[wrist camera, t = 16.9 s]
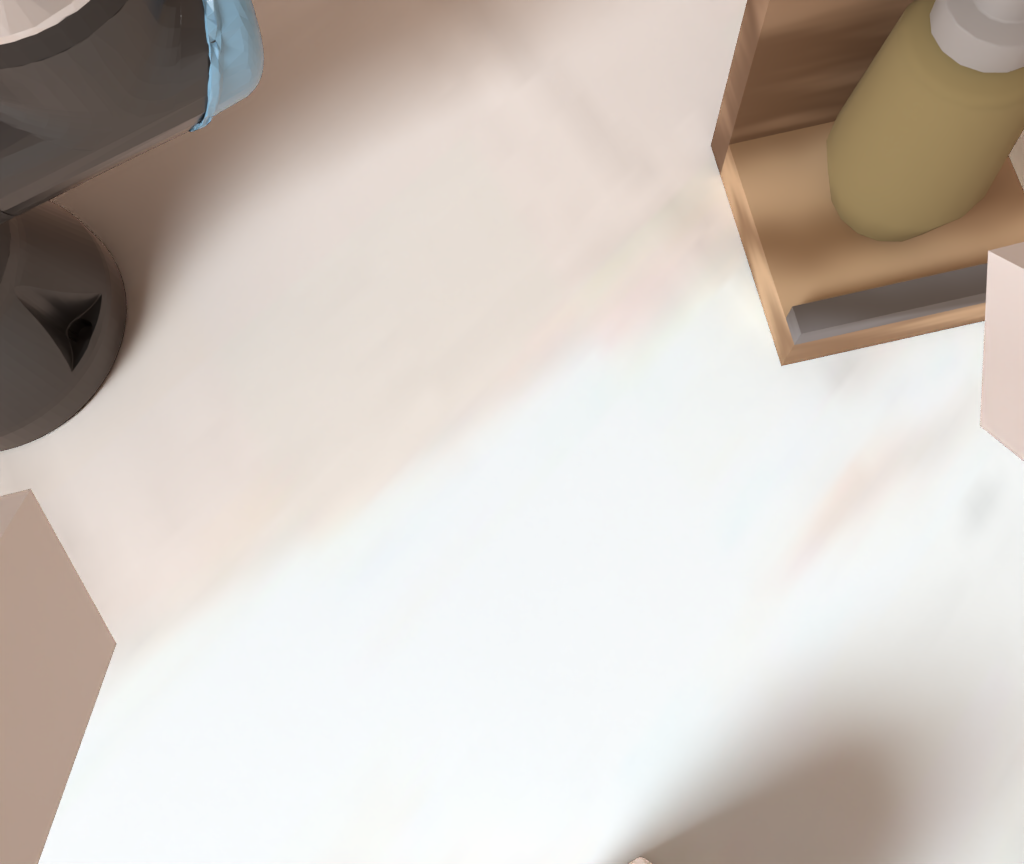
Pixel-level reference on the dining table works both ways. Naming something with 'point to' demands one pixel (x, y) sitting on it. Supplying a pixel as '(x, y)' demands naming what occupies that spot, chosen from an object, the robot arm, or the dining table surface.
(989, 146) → the squeeze bottle
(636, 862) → the jar
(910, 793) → the dining table surface
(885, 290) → the wooden bookend
